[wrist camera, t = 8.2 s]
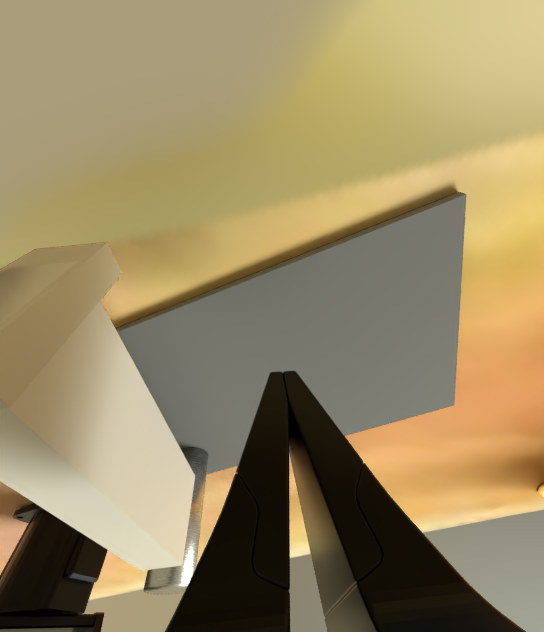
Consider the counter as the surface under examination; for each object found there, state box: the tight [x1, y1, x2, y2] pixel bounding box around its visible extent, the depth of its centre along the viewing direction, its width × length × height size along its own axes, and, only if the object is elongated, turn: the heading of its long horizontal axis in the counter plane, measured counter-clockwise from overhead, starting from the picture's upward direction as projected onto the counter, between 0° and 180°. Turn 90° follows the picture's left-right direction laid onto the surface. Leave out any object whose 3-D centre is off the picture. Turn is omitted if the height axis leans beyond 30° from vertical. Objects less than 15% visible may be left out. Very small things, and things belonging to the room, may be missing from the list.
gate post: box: [144, 447, 209, 595], centre depth 16 cm, size 2×2×7 cm
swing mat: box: [116, 192, 466, 474], centre depth 15 cm, size 20×14×1 cm
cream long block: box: [0, 242, 195, 571], centre depth 11 cm, size 14×2×6 cm, turn 4°
